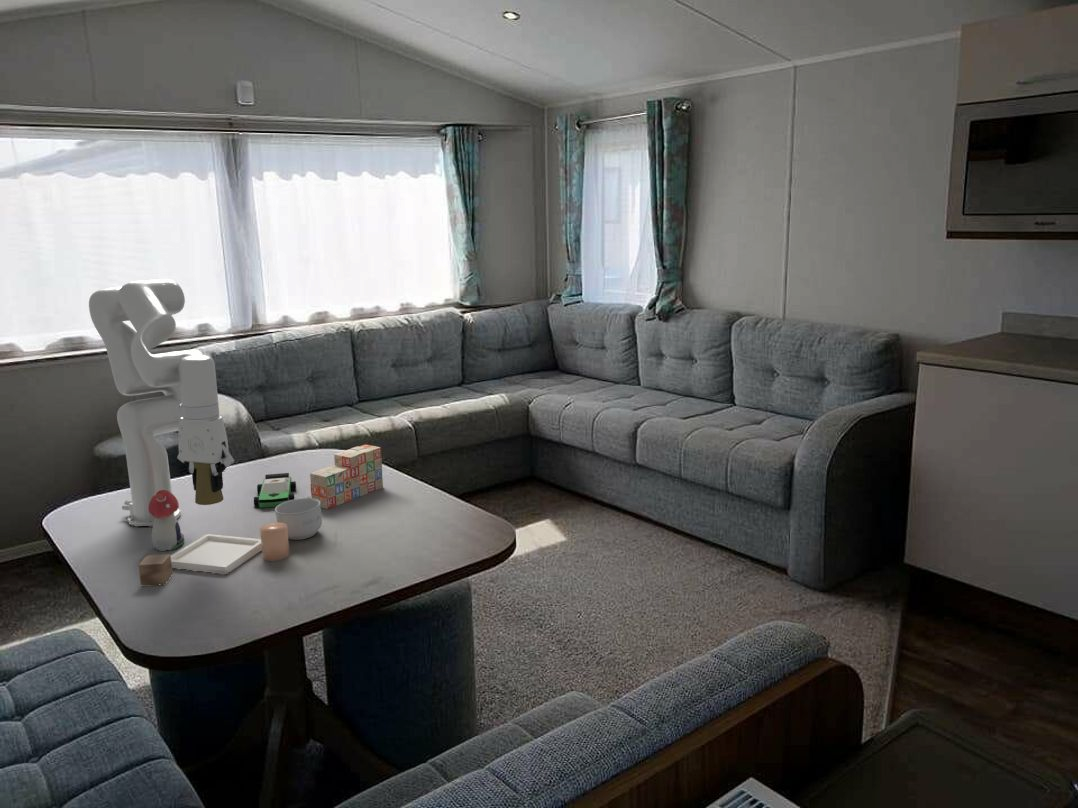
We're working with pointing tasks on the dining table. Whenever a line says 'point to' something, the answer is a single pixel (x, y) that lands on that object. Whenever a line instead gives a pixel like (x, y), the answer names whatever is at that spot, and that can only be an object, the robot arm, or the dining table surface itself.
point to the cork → (205, 486)
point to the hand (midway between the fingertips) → (208, 488)
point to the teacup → (300, 517)
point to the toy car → (274, 490)
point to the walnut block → (155, 569)
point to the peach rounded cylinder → (274, 541)
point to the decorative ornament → (165, 521)
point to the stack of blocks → (348, 476)
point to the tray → (216, 553)
